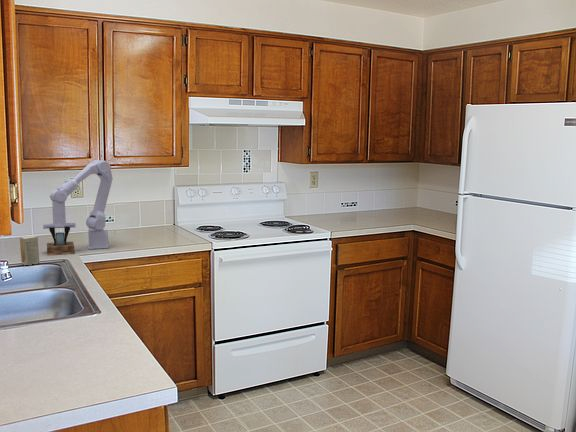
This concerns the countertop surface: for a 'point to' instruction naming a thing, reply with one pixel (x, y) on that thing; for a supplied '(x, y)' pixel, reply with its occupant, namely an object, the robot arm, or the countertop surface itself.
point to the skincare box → (29, 250)
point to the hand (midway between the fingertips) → (60, 242)
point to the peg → (60, 239)
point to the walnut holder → (60, 248)
